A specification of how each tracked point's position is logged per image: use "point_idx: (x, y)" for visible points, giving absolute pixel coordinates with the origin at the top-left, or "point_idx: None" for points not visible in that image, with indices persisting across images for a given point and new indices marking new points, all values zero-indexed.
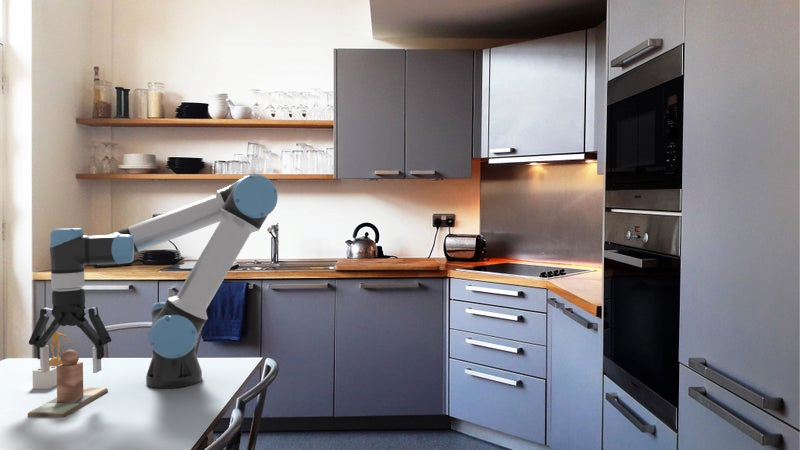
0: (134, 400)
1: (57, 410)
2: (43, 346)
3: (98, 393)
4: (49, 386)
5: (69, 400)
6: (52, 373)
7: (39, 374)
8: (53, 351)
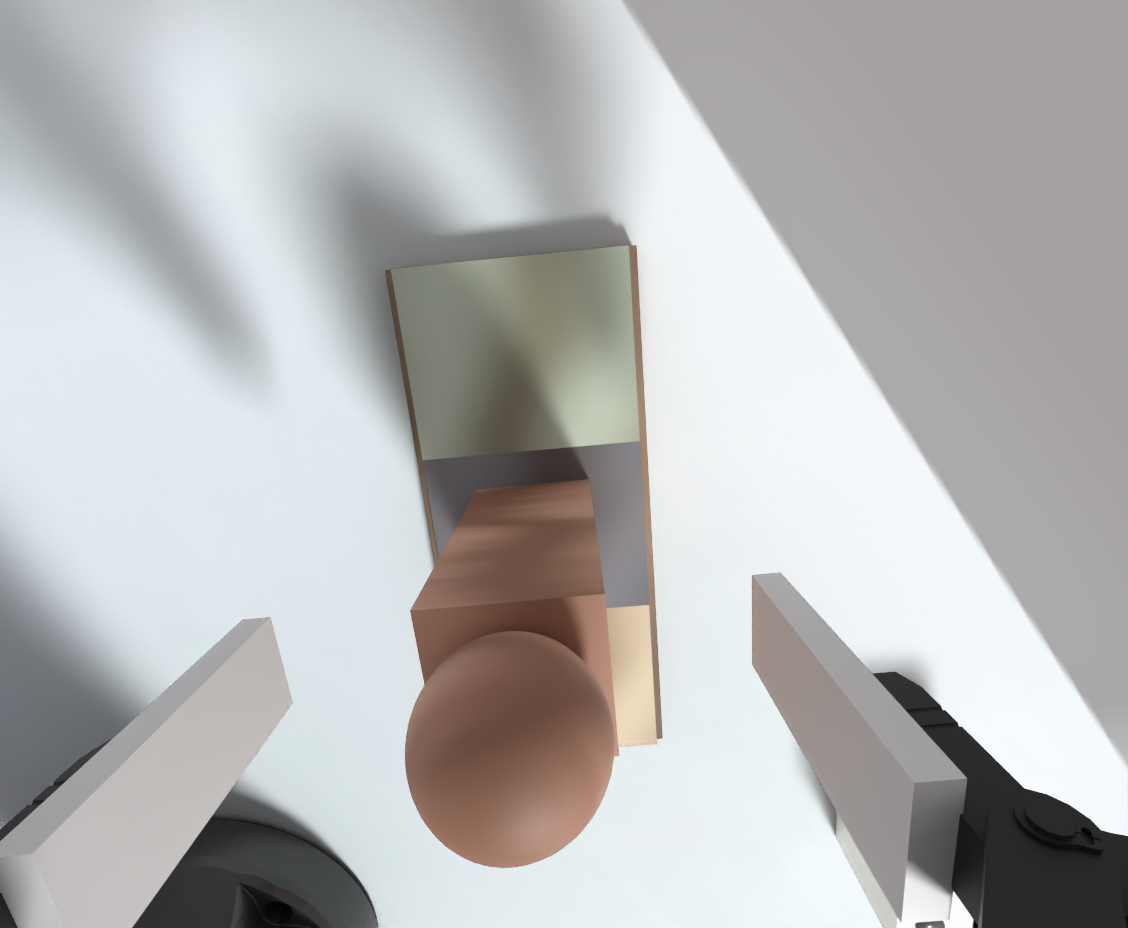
0: (210, 621)
1: (457, 303)
2: (953, 859)
3: None
4: None
5: (507, 489)
6: None
7: None
8: None
